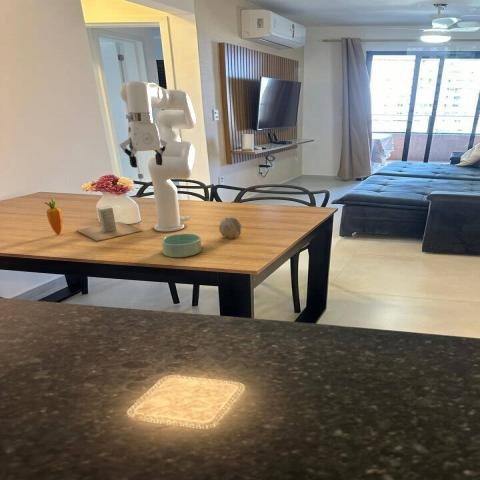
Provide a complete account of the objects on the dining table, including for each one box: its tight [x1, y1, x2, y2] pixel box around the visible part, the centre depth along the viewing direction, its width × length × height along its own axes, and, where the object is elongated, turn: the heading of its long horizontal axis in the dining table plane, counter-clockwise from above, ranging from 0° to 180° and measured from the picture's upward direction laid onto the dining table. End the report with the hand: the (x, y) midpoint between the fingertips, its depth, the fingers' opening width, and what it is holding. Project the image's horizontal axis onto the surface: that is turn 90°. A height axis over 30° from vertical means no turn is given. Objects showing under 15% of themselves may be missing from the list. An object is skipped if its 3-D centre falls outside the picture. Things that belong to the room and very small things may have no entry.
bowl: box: [161, 233, 202, 258], centre depth 142 cm, size 14×14×5 cm
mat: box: [76, 221, 142, 242], centre depth 164 cm, size 18×20×1 cm
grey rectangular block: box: [97, 205, 117, 232], centre depth 163 cm, size 5×4×10 cm
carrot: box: [44, 198, 63, 236], centre depth 156 cm, size 5×5×15 cm
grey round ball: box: [218, 216, 243, 240], centre depth 159 cm, size 9×8×10 cm
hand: (147, 166), depth 143 cm, fingers open, 9 cm apart
